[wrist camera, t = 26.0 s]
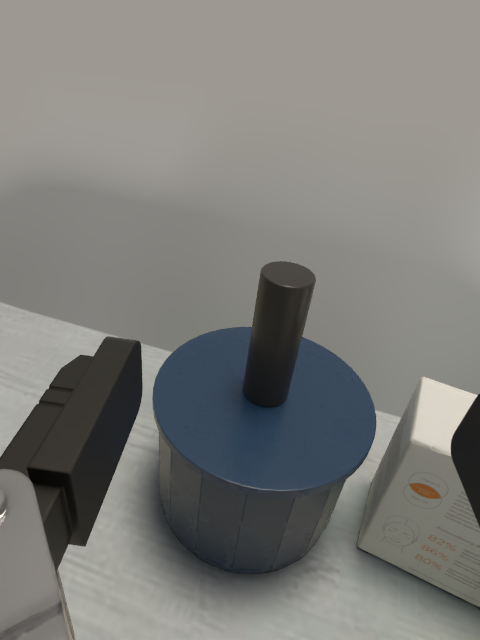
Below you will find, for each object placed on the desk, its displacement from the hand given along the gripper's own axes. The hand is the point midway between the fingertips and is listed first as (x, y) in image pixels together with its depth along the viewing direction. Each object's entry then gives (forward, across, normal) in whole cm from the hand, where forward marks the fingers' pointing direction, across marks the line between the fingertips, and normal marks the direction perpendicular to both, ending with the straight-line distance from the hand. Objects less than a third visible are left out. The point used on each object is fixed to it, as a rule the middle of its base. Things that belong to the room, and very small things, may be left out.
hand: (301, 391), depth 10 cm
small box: (+8, -12, +19) cm, 24 cm away
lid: (+10, 0, +10) cm, 14 cm away
